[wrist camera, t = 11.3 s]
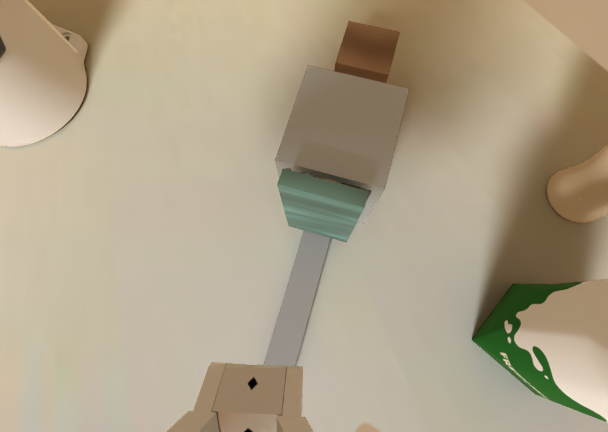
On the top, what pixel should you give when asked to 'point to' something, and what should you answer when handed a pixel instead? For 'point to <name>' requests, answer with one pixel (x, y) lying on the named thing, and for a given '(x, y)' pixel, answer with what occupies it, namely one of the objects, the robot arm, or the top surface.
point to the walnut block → (367, 52)
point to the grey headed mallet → (332, 173)
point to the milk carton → (554, 341)
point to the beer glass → (581, 189)
